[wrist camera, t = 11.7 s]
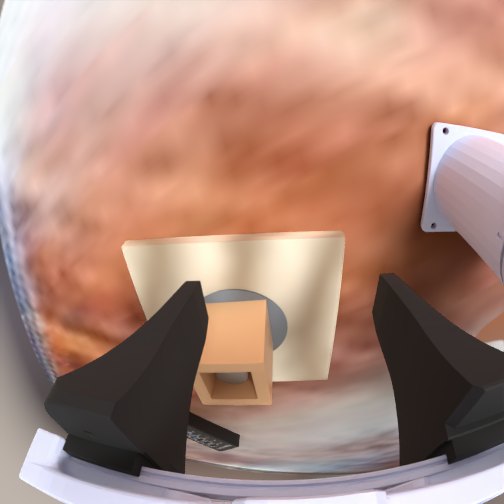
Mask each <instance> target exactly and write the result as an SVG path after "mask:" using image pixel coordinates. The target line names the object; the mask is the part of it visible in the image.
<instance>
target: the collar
mask: <svg viewBox="0 0 504 504" xmlns="http://www.w3.org/2000/svg"><path fill="white" fill-rule="evenodd" d="M206 308H207V313H208V317H209V320H208V328H207V335H206V341H205V345H204V349H203V352H202V356H201V360H200V363H199V367H198V371H197V374H196V378H195V382H194V386H193V387H194V388H195V390H196V392H197V394H198V396H199V398H200V400H201V402H202V404H203V405H272V378H273V341H272V334H271V328H270V321H269V315H268V308H267V302H266V300H254V301H239V302H223V303H206ZM229 372H248V378H247V380H246V381H245V382H243V383H240V384H229V383H226V382H223V381H221V380H220V379H219V378H218V377H217V373H229Z"/></svg>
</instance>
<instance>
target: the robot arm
mask: <svg viewBox="0 0 504 504" xmlns="http://www.w3.org/2000/svg"><path fill="white" fill-rule="evenodd" d="M443 128H446V132H445V133H444V134H443ZM432 223H434V225H433V226H432V227H431V224H432ZM421 228H422V230H423V231H425V232H453V231H457V232H458V233H459V234H460V235H461V236H462V237H463V238H464V239H465V240H466V241H467V243H468V244H469V245H470V246H471V247H472V248H473V249H474V250H475V251H476V252H477V254H478V255H479V256H480V257H481V258H482V259H483V260H484V262H485V263H486V264H487V265H488V266H489V268H490V269H491V270H492V271H493V272H494V274H495V275H496V276H497V277H498V278H499V280H500V281H501V282H502V283H503V285H504V134H501V133H496V132H491V131H487V130H482V129H477V128H471V127H466V126H460V125H454V124H447V123H440V122H435V123H434V124H433V125H432V128H431V142H430V155H429V166H428V176H427V184H426V192H425V199H424V206H423V212H422V219H421ZM372 314H373V319H374V324H375V329H376V333H377V336H378V339H379V342H380V346H381V349H382V352H383V355H384V358H385V361H386V364H387V367H388V370H389V373H390V377H391V381H392V385H393V390H394V396H395V402H396V410H397V418H398V429H399V445H400V467H396V468H391V469H386V470H381V471H375V472H369V473H363V474H356V475H349V476H341V477H331V478H322V479H307V480H238V479H224V478H212V477H202V476H195V475H187V474H185V454H186V440H187V428H188V419H189V411H190V403H191V396H192V390H193V386H194V382H195V378H196V374H197V371H198V367H199V363H200V360H201V356H202V352H203V349H204V345H205V341H206V335H207V328H208V320H209V317H208V313H207V308H206V304H205V300H204V295H203V291H202V286H201V282H200V281H185V282H184V283H183V285H182V286H181V287H180V288H179V289H178V290H177V291H176V292H175V293H174V294H173V295H172V296H171V297H170V299H169V300H168V301H167V302H166V303H165V304H164V305H163V306H162V307H161V308H160V309H159V310H158V311H157V312H156V313H155V314H154V315H153V316H152V317H151V318H150V319H149V320H148V321H147V322H146V323H145V324H144V325H143V326H142V327H140V328H139V329H138V330H137V331H136V332H135V333H133V334H132V335H131V336H130V337H128V338H127V339H126V340H125V341H123V342H122V343H121V344H119V345H118V346H116V347H115V348H113V349H112V350H110V351H109V352H107V353H106V354H104V355H103V356H101V357H99V358H97V359H96V360H94V361H92V362H90V363H88V364H87V365H85V366H83V367H81V368H79V369H76V370H74V371H72V372H70V373H67V374H65V375H63V376H60V377H58V378H57V379H56V381H55V383H54V385H53V387H52V389H51V391H50V393H49V395H48V397H47V399H46V401H45V404H44V405H45V409H46V411H47V412H48V414H49V415H50V416H51V417H52V418H53V419H54V420H55V421H56V422H57V423H58V424H59V425H60V426H61V427H62V428H63V429H64V430H65V431H66V432H67V433H68V436H67V439H64V438H63V437H61V436H58V435H56V434H54V433H51V432H49V431H46V430H43V429H41V428H39V429H38V431H37V433H36V435H35V438H34V440H33V442H32V444H31V447H30V449H29V451H28V454H27V456H26V459H25V461H24V464H23V467H22V469H21V472H20V474H19V477H20V479H22V480H24V481H25V482H27V483H29V484H30V485H32V486H34V487H35V488H37V489H39V490H41V491H43V492H44V493H46V494H48V495H50V496H51V497H53V498H55V499H57V500H59V501H61V502H64V503H66V504H482V503H484V502H486V501H488V500H490V499H492V498H494V497H496V496H498V495H500V494H502V493H503V492H504V352H502V351H500V350H498V349H496V348H494V347H491V346H489V345H487V344H485V343H484V342H481V341H480V340H478V339H476V338H475V337H473V336H471V335H469V334H468V333H466V332H465V331H463V330H462V329H460V328H459V327H457V326H456V325H454V324H453V323H452V322H450V321H449V320H447V319H446V318H445V317H443V316H442V315H441V314H440V313H439V312H437V311H436V310H435V309H434V308H432V307H431V306H430V305H429V304H428V303H427V302H425V301H424V300H423V299H422V298H421V297H420V296H419V295H418V294H416V293H415V292H414V291H413V290H412V289H411V288H410V287H409V286H408V285H407V284H405V283H404V282H403V281H402V280H401V279H400V278H399V277H398V276H396V275H395V274H394V273H389V274H380V276H379V282H378V287H377V292H376V297H375V302H374V306H373V311H372ZM211 499H220V500H230V501H233V502H216V501H212V500H211Z"/></svg>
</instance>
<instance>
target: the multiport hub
mask: <svg viewBox="0 0 504 504" xmlns="http://www.w3.org/2000/svg"><path fill="white" fill-rule="evenodd" d="M187 438H189V439H191V440H193V441H196V442H198V443H200V444H203V445H205V446H208V447H210V448H213V449H215V450H218V451H224V450H228V449H232V448H236V447H239V439H240V435H239V434H236V433H234V432H232V431H229V430H227V429H225V428H223V427H220V426H218V425H216V424H214V423H212V422H210V421H207V420H205V419H203V418H201V417H199V416H197V415H195V414H193V413H191V412H189V419H188V428H187Z"/></svg>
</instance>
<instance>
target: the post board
mask: <svg viewBox="0 0 504 504" xmlns="http://www.w3.org/2000/svg"><path fill="white" fill-rule="evenodd" d="M344 246H345V236H344V233H343V231H342V230H339V231H309V232H281V233H257V234H234V235H213V236H193V237H174V238H156V239H139V240H126V242H125V243H124V244H123V245H122V250H123V254H124V257H125V260H126V263H127V266H128V269H129V272H130V275H131V278H132V280H133V283H134V286H135V289H136V292H137V294H138V297H139V300H140V303H141V305H142V308H143V310H144V313H145V316H146V318H147V321H148V320H149V319H150V318H151V317H152V316H153V315H154V314H155V313H156V312H157V311H158V310H159V309H160V308H161V307H162V306H163V305H164V304H165V303H166V302H167V301H168V300H169V299H170V297H171V296H172V295H173V294H174V293H175V292H176V291H177V290H178V289H179V288H180V287H181V286H182V285H183V283H184V282H185V281H200V282H201V286H202V291H203V295H204V300H205V304H206V303H223V302H239V301H254V300H266V302H267V308H268V315H269V321H270V328H271V334H272V341H273V378H272V381H304V380H321V379H327V377H328V372H329V366H330V360H331V354H332V348H333V341H334V334H335V328H336V320H337V313H338V305H339V297H340V288H341V279H342V269H343V258H344ZM217 377H218V378H219V379H220V380H221V381H223V382H226V383H229V384H240V383H243V382H245V381H246V380H247V378H248V372H229V373H217Z"/></svg>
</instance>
